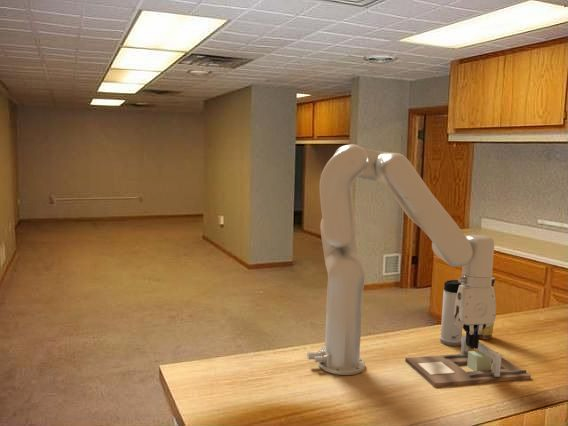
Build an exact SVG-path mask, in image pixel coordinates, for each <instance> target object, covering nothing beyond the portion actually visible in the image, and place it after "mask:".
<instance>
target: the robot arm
mask: <svg viewBox="0 0 568 426" xmlns="http://www.w3.org/2000/svg"><path fill="white" fill-rule="evenodd" d="M356 179H362V180H367V181H371V182H372V181H373V182H377V183H383V184H384V185H385V186H386V187H387V190H389V192H390V193H391V195H392V196H393V198H394V199H395V200H396V202H397V203H398V205H399V206H400V208H401V209H402V210H403V212H404V213H405V215H406V216H407V217H408V218H409V219H410V220H411V221H412V222H413V223H414V224H416V225H417V227H419V228H420V229H421V231H423V232H424V233H425V234H426V235H427V236H428V238H429V239H430V241H432V242H431V249H432V252H433V253H434V255H435V256H436V257H437V258H439V259H441V260H442V261H443V262H445V263H446V264H447V265H449V266H450V267H456V268H460V267H461V268H462V271H461V277H457V280H458V282H459V283H460V282H461V285H459V288H458V292H457V296H456V301H455V309H454V318H455V319H456V320H455V324H454V325H455V326H457V327H459V328H462V330H463V331H465V332H466V333H465V334H466V345H467V346H468V347H469V348H470V349H471V350H478V344H479V342H480V339H479V334H481V333H482V330H483V329H484V328H485V327H487V326H490V325H492V323H493V322H494V323H495V322H496V317H497V298H496V291H495V288H494V287H493V286H491V283H492V277H493V269H494V268H493V267H494V266H493V265H494V255H495V240H494V238H493V237H492V236H489V235H484V234H469V235H467V234H464V232H463V231H462V229H461V228H460V226H459V225H458V224H457V222H456V221H455V219H453V218H452V216H451V215H450V213H448V211H446V209H445V208H444V206H443V205H442V204H441V203H440V202H439V200H438V199H437V198H436V196H434V194H433V192H431V190H430V188H429V187H428V186H427V184H426V183H425V182H424V180H423V179H422V177H421V176H420V174H419V173H418V171H417V170H416V169H415V166H414V165H413V164H412V162H411V161H410V160H409V159H408V158H407V157H406V156H404V154H402V153H400V152H387V151H381V150H374V149H370V148H369V149H368V148H364V147H362V146H360V145H358V144H355V143H354V144H353V143H351V144H345V145H342V146H340V147H338V148H337V149H336V150H335V153H333V156H332V157H331V158H330V159H329V160H328V161H327V163H326V164H325V165H324V168H323V170H322V171H321V174H320V178H319V198H320V199H319V200H320V209H321V217H322V218H321V220H320V225H319V228H320V236H321V243H322V250H323V257H324V265H325V268H326V272H327V288H326V289H327V290H326V301H325V302H326V306H325V310H326V311H325V315H326V316H325V334H324V335H325V338H324V346H321V349H320V350H318V351H316V352H314V351H310V352H309V351H308V352H307V353H306V357H307V360H308V361H309V360H314V362H315V363H318V367H319V368H320V369H322V370H323V372H327V373H329V374H333V375H337V376H352V375H357V374H359V373H362V372H363V371H364V370H365V367H366V362H365V360H364V359H362V358H361V357H360V353H361V352H360V351H361V332H362V331H361V329H362V311H363V295H364V286H365V281H366V278H365V277H366V275H365V274H366V272H365V267H364V263H363V262H362V259H361V258H360V257H359V255H358V248H357V242H356V239H357V236H358V235H357V234H358V225H357V221H356V214H355V208H354V206H355V205H354V200H353V199H354V198H353V197H354V196H353V185H354V183H355V181H356Z"/></svg>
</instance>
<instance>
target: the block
mask: <svg viewBox="0 0 568 426" xmlns="http://www.w3.org/2000/svg"><path fill="white" fill-rule="evenodd" d="M466 366H467V368H469V369H471V370H472V371H483V370H492V358H490V357H489V356H487V355H486V354H484V353H482V352H481V351H479V350H470V351H469V350H468V361H467V364H466Z"/></svg>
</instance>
